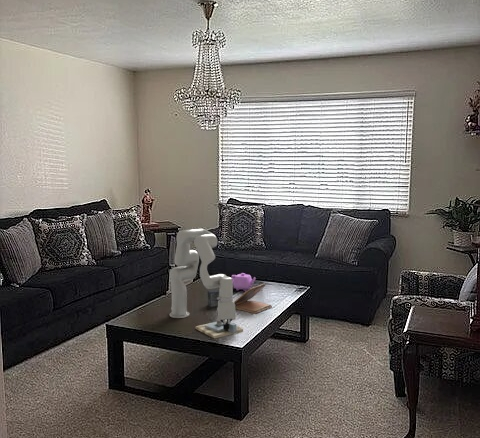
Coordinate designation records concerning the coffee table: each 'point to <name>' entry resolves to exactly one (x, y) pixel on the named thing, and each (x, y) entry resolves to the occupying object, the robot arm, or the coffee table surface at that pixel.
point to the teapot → (242, 281)
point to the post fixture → (214, 333)
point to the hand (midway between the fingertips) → (226, 330)
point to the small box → (213, 298)
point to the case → (251, 305)
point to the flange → (214, 327)
